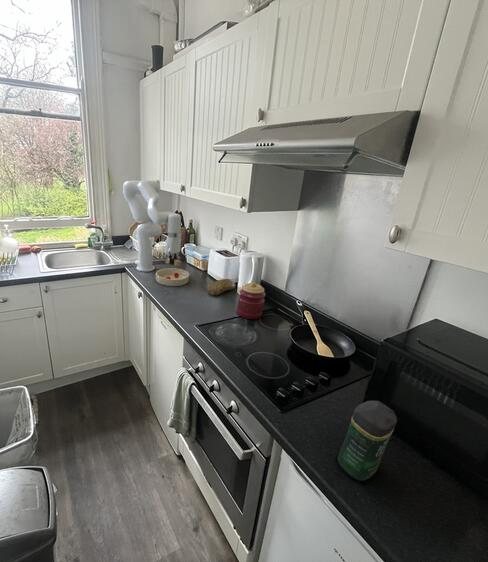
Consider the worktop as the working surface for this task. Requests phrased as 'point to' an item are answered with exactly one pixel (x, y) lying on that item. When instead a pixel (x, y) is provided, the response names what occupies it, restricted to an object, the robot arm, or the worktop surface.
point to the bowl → (172, 277)
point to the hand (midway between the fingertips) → (173, 263)
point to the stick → (176, 262)
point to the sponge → (220, 286)
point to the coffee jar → (366, 439)
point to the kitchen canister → (251, 301)
